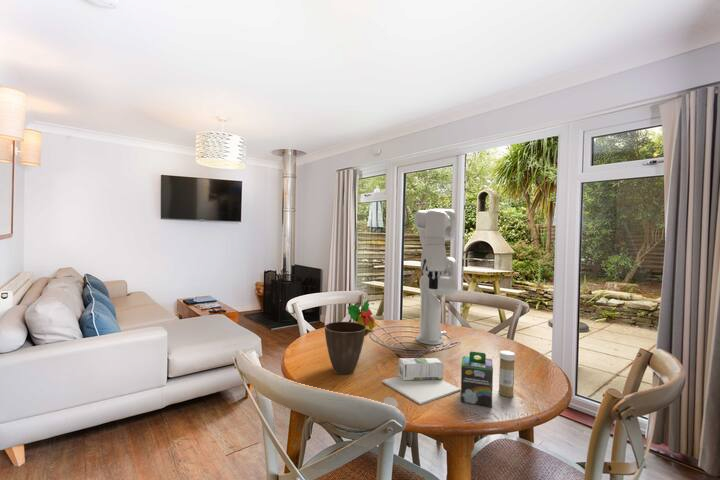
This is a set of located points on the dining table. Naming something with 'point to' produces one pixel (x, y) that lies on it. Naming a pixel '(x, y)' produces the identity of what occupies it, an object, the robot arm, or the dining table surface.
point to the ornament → (362, 316)
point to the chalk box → (477, 379)
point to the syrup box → (420, 368)
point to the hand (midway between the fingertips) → (433, 288)
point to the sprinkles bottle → (506, 373)
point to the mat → (421, 388)
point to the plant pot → (344, 345)
